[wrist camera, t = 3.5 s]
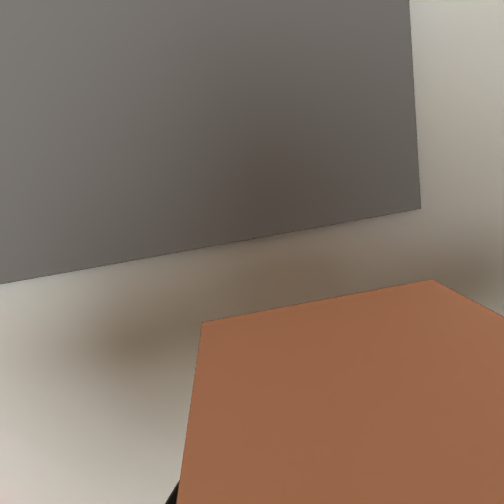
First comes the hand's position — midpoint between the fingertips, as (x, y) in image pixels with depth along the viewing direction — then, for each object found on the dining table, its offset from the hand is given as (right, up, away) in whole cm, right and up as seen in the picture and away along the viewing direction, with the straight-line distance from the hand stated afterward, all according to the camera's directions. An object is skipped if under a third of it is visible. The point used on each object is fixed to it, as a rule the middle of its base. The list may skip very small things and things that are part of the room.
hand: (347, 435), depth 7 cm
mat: (-5, +10, +4) cm, 11 cm away
